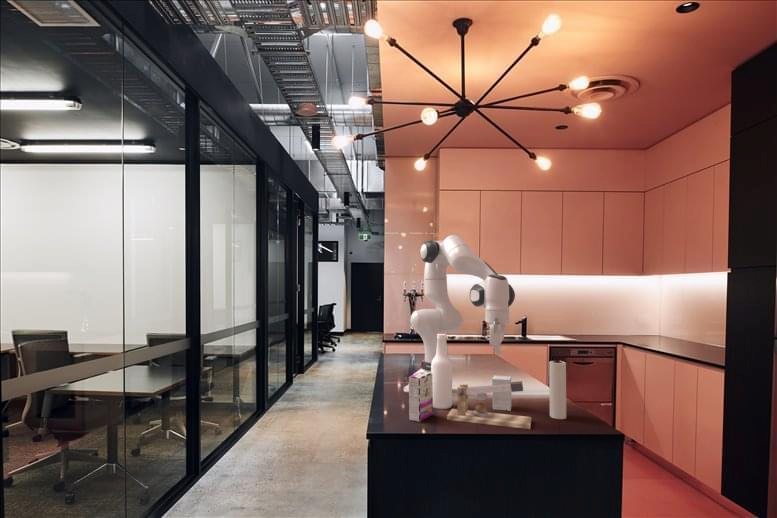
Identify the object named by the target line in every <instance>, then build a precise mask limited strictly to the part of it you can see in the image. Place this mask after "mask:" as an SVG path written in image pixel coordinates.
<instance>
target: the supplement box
mask: <svg viewBox="0 0 777 518" xmlns="http://www.w3.org/2000/svg"><path fill="white" fill-rule="evenodd" d="M491 378H492V379H491V384H492V385H504V384H511V382H512V376H509V375H495V374H494V375H493V377H491ZM491 395H492V410H494V411H495V410H497V411H506V410H507V411H509V412H511V410H512V407H513V405H512V391H506V392H492V393H491Z"/></svg>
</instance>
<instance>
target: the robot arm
mask: <svg viewBox="0 0 777 518" xmlns="http://www.w3.org/2000/svg"><path fill="white" fill-rule="evenodd" d="M419 257H420V259H421V260H422V262H424V263H425V265H424V269H423V270H424V271H423V289H424V290H423V292H424V293H423V294H424V297H425V298H426V299H427V300H428V301H430V302H432V304H434V306H435V308H422V309H418V310H414V311H413V312H412V314H411V315H410V319H409V322H410V326H411V328H412V329H413V330H414V331H415V332H416V333H417V334H418V335H419V336H420V338H421V339H422V342H423V347H424V359H423V360H421V362H420V368H419V369H418V370H417V371H416V372H414V373H413V374H412V375H415V374H417V373H420V372H430V373H431V363H432V360H433V359H434V357H435V356H436V350H437V334H438V333H440V332H441V333H445V332H446V333H448V332H453V331H459V330H460V329H461V327H462V325H463V321H464V320H463V319H464V318H463V316H462V315H463V314H462V313H461V312H460V311H459V310H458V309H456V307H455V306H454V305H453V303H452V302H451V300H450V298H449V292H448V275H447V268H448V267H449V266H450V267H452V269H453V270H454V271H456V272H458V273H460V274H463V275H469V276H472V277H473V276H474V277H477V278H480V279H481V280H482V281H481V282H478V283H475V284H473V285H472V287H471V288H470V290H469V300H470V302H471V304H472V305H474V307H475V308H476V307H477V308H485V315H484V317H485V318H484V319H485V320H484V321H485V323H488V327H489V345H490V346H493V353H494V356H499V355H500V353H501V351H500V350H501V343H502V342H503V340H504V338H505V334H506V333H505V332H506V331H505V330H506V326H507V324H508V323H510V307H511V305H512V304H513V303H514V301H515V299H516V293H515V290H514V288H513V286H512V285H511V284H510V283H509V282H508V278H507V277H506V276H504V275H500V274H498V273H497V272H496V271H495V270H494V268H492V267H491V265H490V264H489V263H488V262H486V261H485V260H483V259H482V258H481V257H480V256H479V255H477V254H476V253H474V251H472V249H471V248H470V247H469V245H468V244H467V242H466V241H465V240H464V239H462V238H461V237H460V236H459V235H456V234H450V235H447V236H446V238H444V240H432V239H431V240H426V241H423V243H422V244H421V246H420V249H419ZM447 355H448V356H449V346H448V345H447ZM403 392H405V393H409V383H408V384H407V385H405V386H404V387H403Z"/></svg>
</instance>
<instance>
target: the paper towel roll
mask: <svg viewBox="0 0 777 518" xmlns="http://www.w3.org/2000/svg"><path fill="white" fill-rule="evenodd" d="M548 362H549V363H548V364H549V367H548V368H549V370H548V371H549V376H548V377H549V379H548V381H549V387H548V389H549V417H550V418H551V419H556V420H566V419H567V362H565V361H562V360H550V361H548Z"/></svg>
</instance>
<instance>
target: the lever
mask: <svg viewBox="0 0 777 518" xmlns="http://www.w3.org/2000/svg"><path fill="white" fill-rule="evenodd" d="M506 391H511V393H512V392H513V393H515V392H523V391H524V384H523V381H522V380H521V381H511V384H504V385H491V384H490V385H482V386H481V385H480V386H479V385H478V386H468V387H466V394H468V395H474V394H476V397H477V401H486V400H487V399H488V396H487V394H488V393H491V394H492V392H506Z"/></svg>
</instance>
